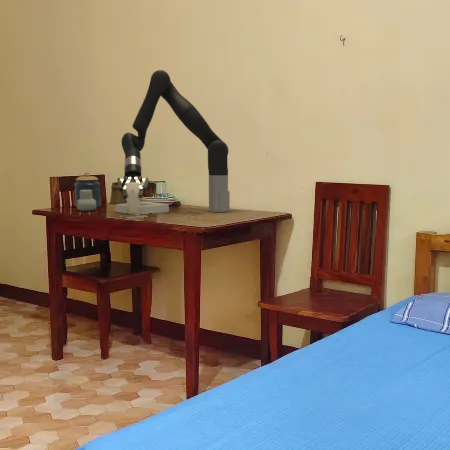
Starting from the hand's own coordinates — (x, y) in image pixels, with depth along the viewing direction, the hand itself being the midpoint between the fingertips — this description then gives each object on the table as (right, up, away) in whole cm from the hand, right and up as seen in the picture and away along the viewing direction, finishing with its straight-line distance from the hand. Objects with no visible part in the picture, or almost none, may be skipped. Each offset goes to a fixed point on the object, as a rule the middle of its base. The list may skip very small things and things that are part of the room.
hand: (133, 197), depth 270 cm
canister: (-30, -3, +47) cm, 56 cm away
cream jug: (0, -7, +2) cm, 7 cm away
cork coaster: (0, -9, +3) cm, 9 cm away
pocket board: (+1, -6, +24) cm, 25 cm away
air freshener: (-27, -5, +29) cm, 40 cm away
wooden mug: (-15, -1, +62) cm, 64 cm away
